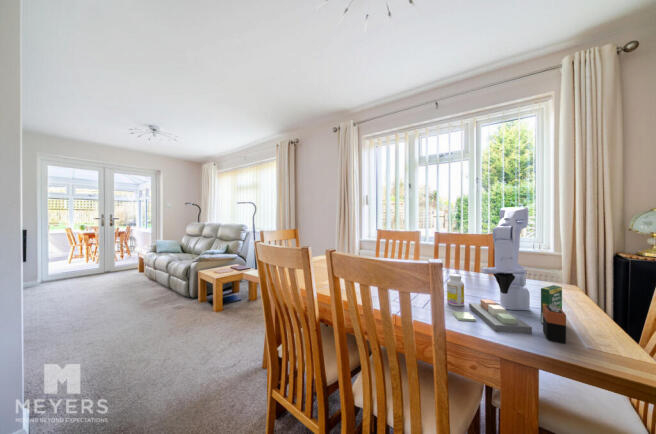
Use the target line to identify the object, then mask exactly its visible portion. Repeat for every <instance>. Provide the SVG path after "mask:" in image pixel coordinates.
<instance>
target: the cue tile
mask: <svg viewBox="0 0 656 434" xmlns="http://www.w3.org/2000/svg"><path fill="white" fill-rule="evenodd" d="M452 315H453V316H454V317H455V319H457V320H458V321H464V322H465V321H468V322H477V318H475V316H473V315H472V314H471V312H469V311H467V312H465V311H452Z"/></svg>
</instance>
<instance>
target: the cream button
mask: <svg viewBox="0 0 656 434" xmlns="http://www.w3.org/2000/svg"><path fill="white" fill-rule="evenodd" d="M506 310H507V309H505V308H503V307H502V306H500V305H499V304H497V305H488V312H489V313H490V314H491V315H492V316H497V313H498V314H506Z"/></svg>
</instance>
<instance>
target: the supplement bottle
mask: <svg viewBox="0 0 656 434" xmlns="http://www.w3.org/2000/svg"><path fill="white" fill-rule="evenodd" d="M448 275H449V279H448V280H447V281H446V302H447V304H449V305H450V306H453V307H462V306H464V305H465V283H464V281H463V280H462V274H458V273H449V274H448Z"/></svg>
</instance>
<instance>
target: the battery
mask: <svg viewBox="0 0 656 434" xmlns="http://www.w3.org/2000/svg"><path fill="white" fill-rule="evenodd" d="M542 331H543V334H544V337H545V338H546V340H548V341H550V342H555V343H559V344H560V343H561V344H564V345H566V343H567V314H566V313H565V312H564V311H563V308H562V309H561V308H559V307H556V305H553V304H549V306H547V305H543V324H542Z"/></svg>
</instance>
